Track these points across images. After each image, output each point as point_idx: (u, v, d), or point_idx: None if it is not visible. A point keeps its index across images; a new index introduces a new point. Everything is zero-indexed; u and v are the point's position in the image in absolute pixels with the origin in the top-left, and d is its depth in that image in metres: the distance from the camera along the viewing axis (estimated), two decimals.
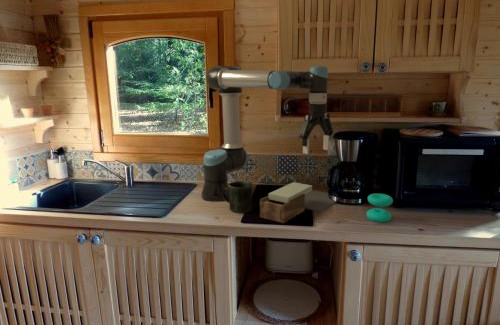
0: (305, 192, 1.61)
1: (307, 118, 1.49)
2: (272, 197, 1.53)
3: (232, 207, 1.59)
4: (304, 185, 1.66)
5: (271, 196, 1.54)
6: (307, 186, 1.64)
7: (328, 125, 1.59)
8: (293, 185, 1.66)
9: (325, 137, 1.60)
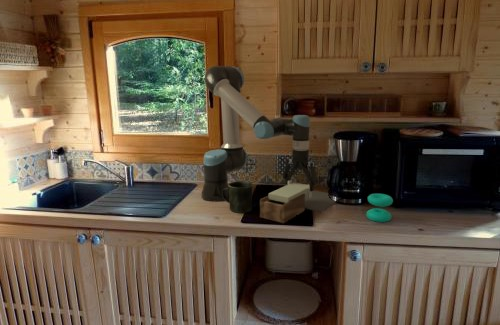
0: (305, 192, 1.61)
1: None
2: (272, 197, 1.53)
3: (232, 207, 1.59)
4: (304, 185, 1.66)
5: (271, 196, 1.54)
6: (307, 186, 1.64)
7: None
8: (293, 185, 1.66)
9: None
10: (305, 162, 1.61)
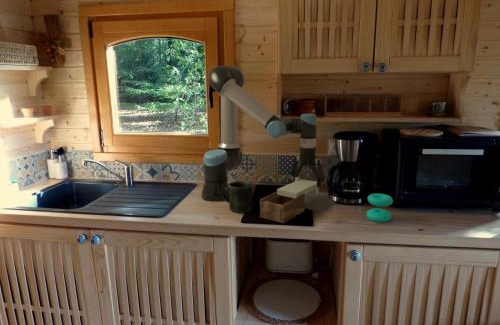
0: (312, 188, 1.66)
1: None
2: (281, 193, 1.59)
3: (232, 207, 1.59)
4: (311, 181, 1.72)
5: (279, 192, 1.59)
6: (314, 182, 1.70)
7: None
8: (301, 182, 1.71)
9: None
10: (312, 159, 1.67)
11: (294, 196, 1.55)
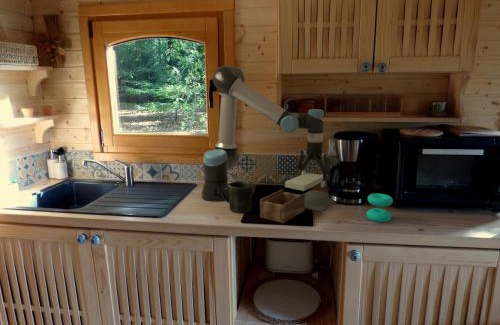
0: (319, 181, 1.72)
1: None
2: (289, 185, 1.64)
3: (232, 207, 1.59)
4: (317, 175, 1.77)
5: (287, 184, 1.65)
6: (320, 176, 1.75)
7: None
8: (307, 175, 1.77)
9: None
10: (319, 153, 1.72)
11: (302, 188, 1.60)
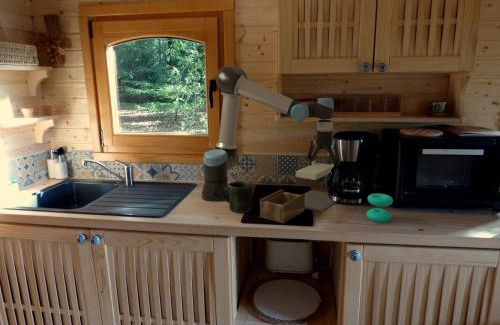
0: (329, 171, 1.70)
1: None
2: (300, 175, 1.62)
3: (232, 207, 1.59)
4: (328, 165, 1.75)
5: (298, 174, 1.63)
6: (331, 165, 1.73)
7: None
8: (318, 165, 1.75)
9: None
10: (329, 142, 1.70)
11: (313, 177, 1.58)
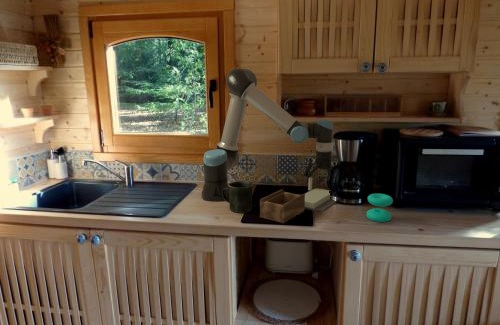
0: (328, 198, 1.73)
1: None
2: None
3: (232, 207, 1.59)
4: (326, 191, 1.78)
5: None
6: None
7: None
8: (316, 191, 1.78)
9: None
10: (328, 162, 1.72)
11: (312, 206, 1.62)
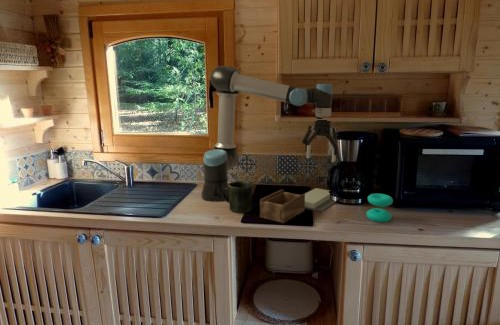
0: (328, 198, 1.73)
1: None
2: None
3: (232, 207, 1.59)
4: (326, 191, 1.78)
5: None
6: None
7: None
8: (316, 191, 1.78)
9: None
10: (327, 128, 1.69)
11: (312, 206, 1.62)
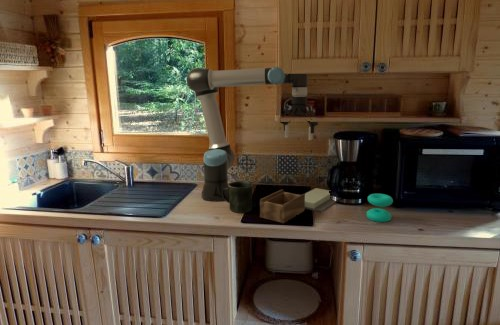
0: (328, 198, 1.73)
1: None
2: None
3: (232, 207, 1.59)
4: (326, 191, 1.78)
5: None
6: None
7: None
8: (316, 191, 1.78)
9: None
10: (303, 107, 1.74)
11: (312, 206, 1.62)
